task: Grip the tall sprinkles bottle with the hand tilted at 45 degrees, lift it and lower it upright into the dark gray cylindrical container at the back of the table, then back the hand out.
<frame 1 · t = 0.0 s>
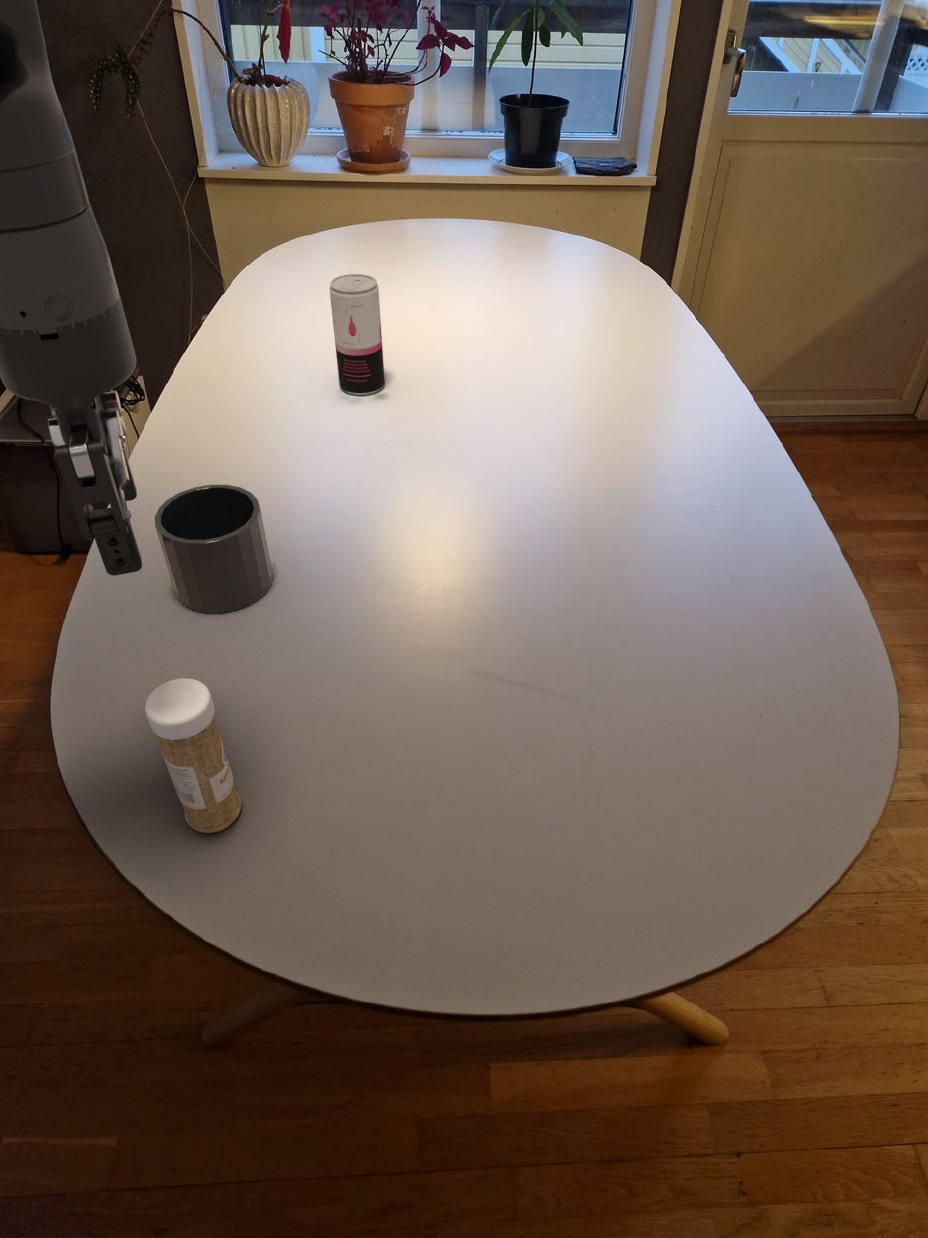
hand: (124, 533, 59), 24 cm above the table, tool pointing down, fingers open, 8 cm apart
dark gray cylindrical container: (224, 582, 92), on the table
sprinkles bottle: (214, 812, 70), on the table
beverage can: (362, 387, 125), on the table
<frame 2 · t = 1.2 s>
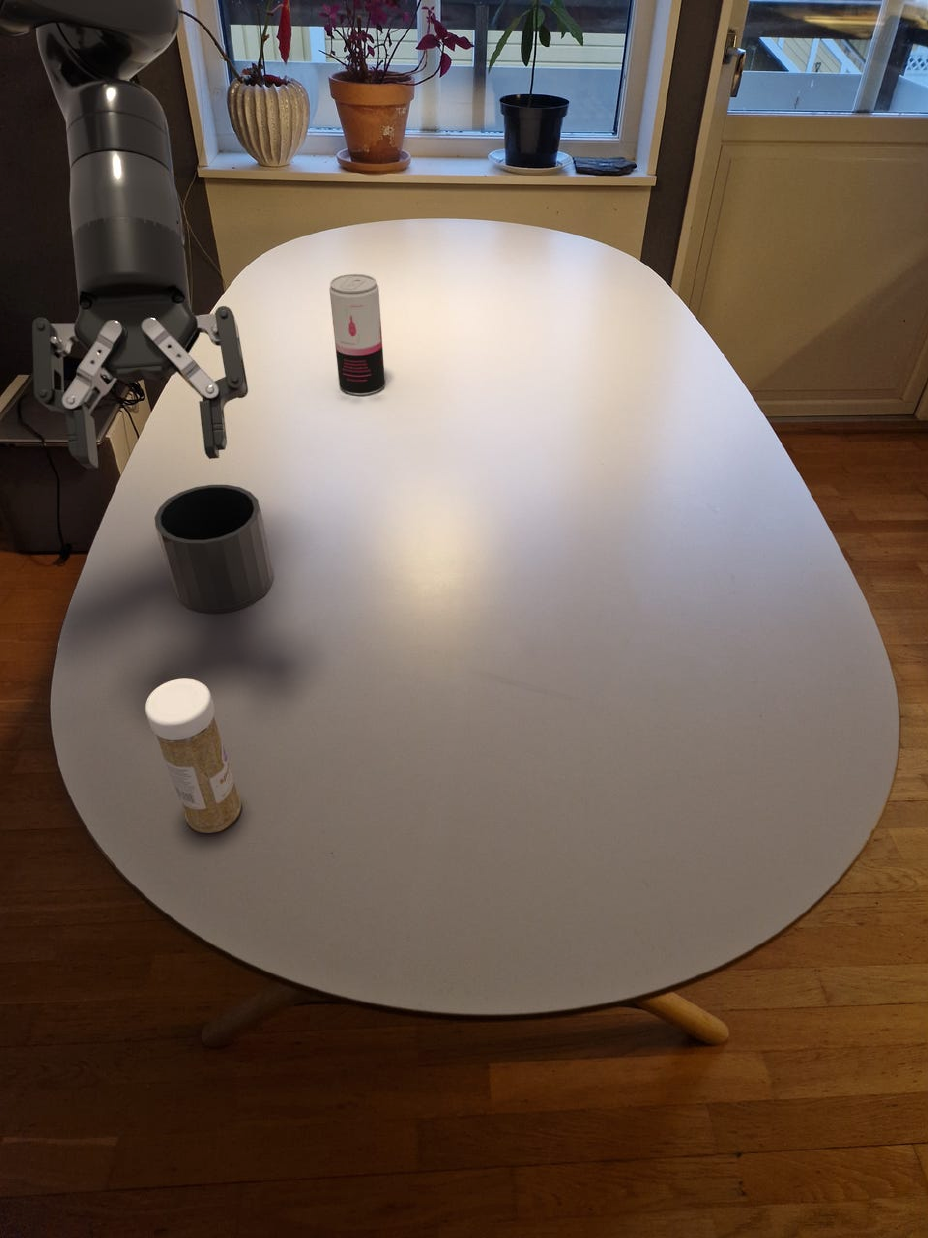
hand: (151, 461, 61), 26 cm above the table, tool tilted 45°, fingers open, 8 cm apart
nothing on the table moved.
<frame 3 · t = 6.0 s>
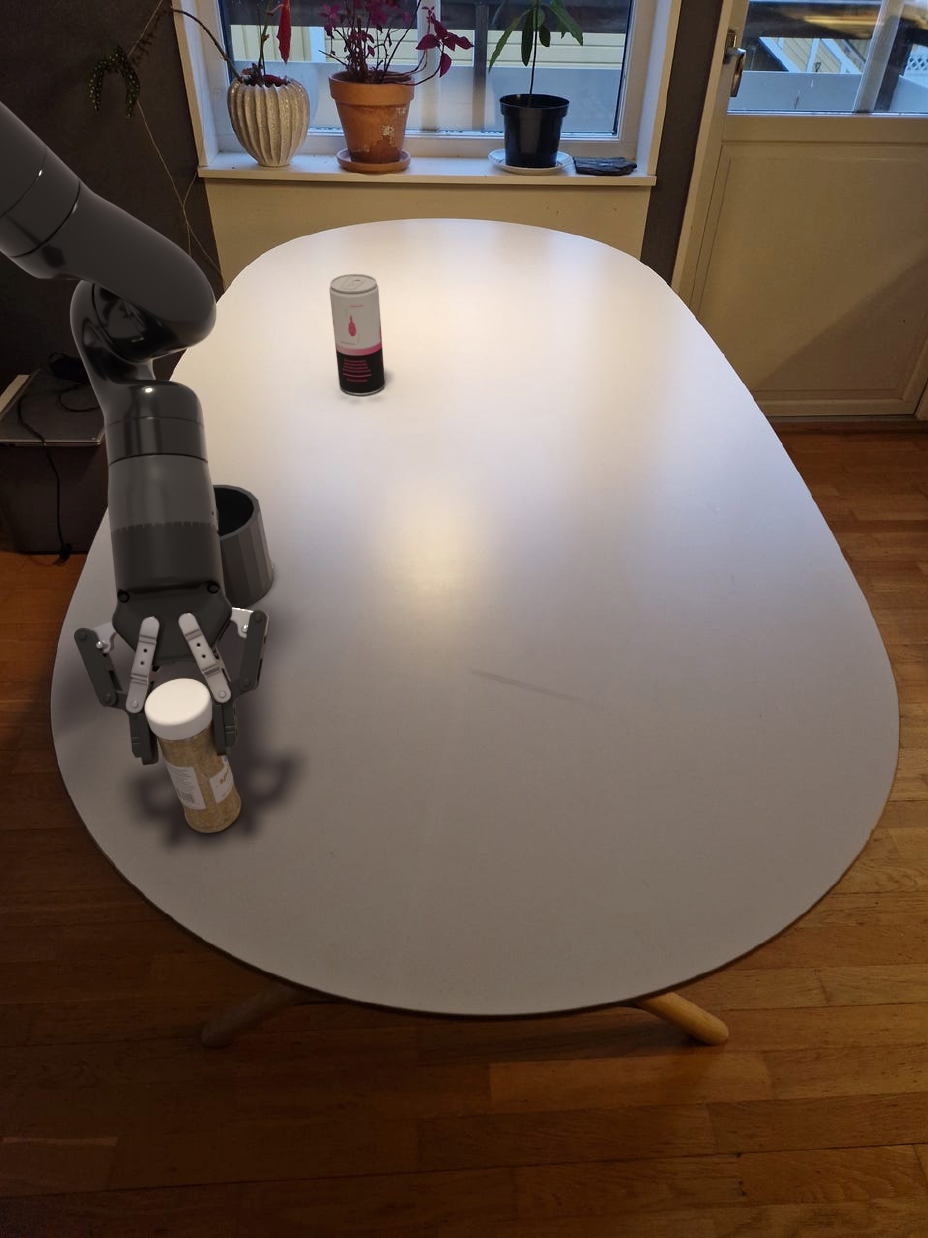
hand: (188, 758, 62), 9 cm above the table, tool tilted 45°, fingers closed on sprinkles bottle, 4 cm apart
sprinkles bottle: (214, 812, 70), on the table, touching gripper
everything else where it was.
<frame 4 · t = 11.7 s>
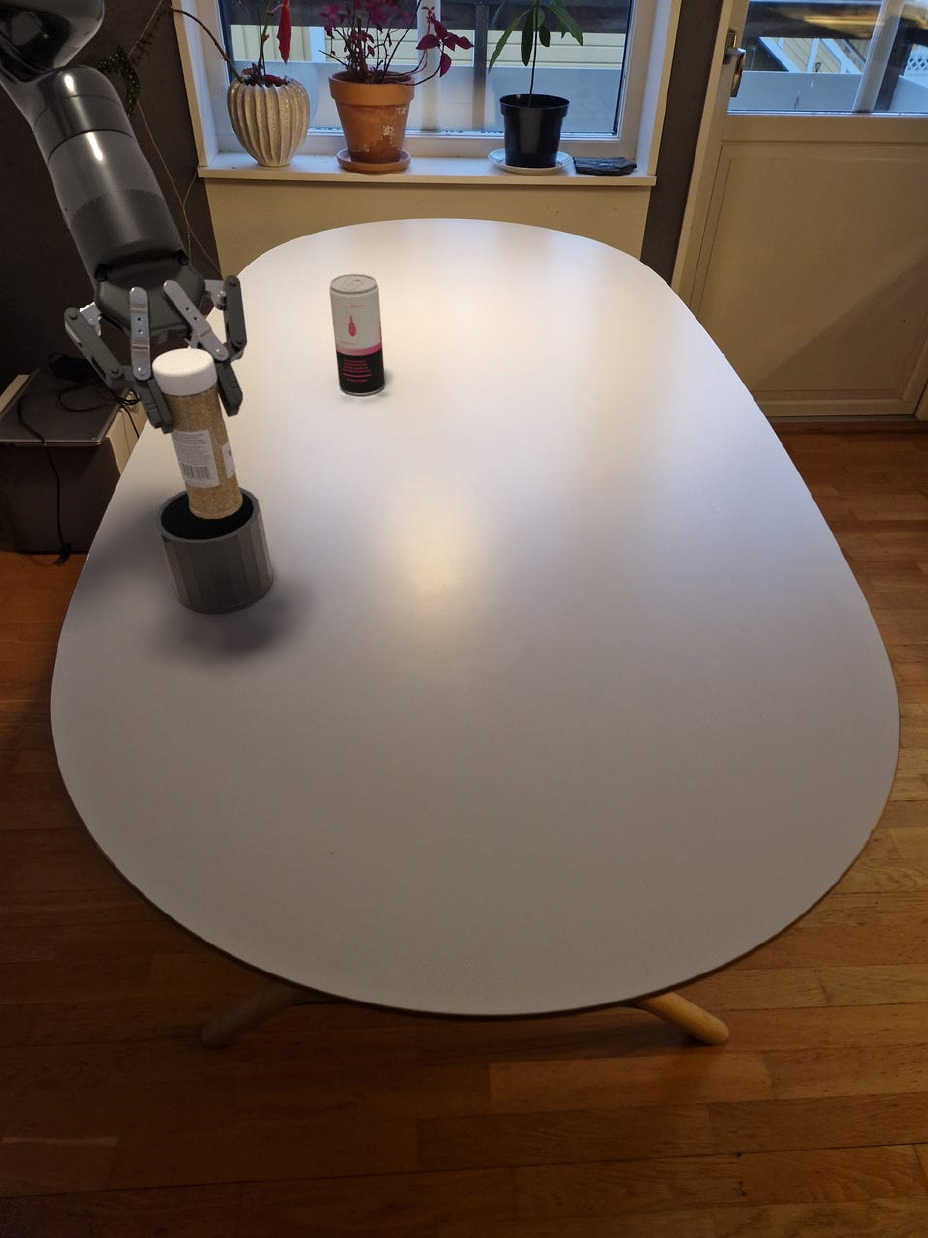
hand: (202, 420, 67), 25 cm above the table, tool tilted 45°, fingers closed on sprinkles bottle, 4 cm apart
sprinkles bottle: (216, 507, 74), point 16 cm above the table, touching gripper
everything else where it was.
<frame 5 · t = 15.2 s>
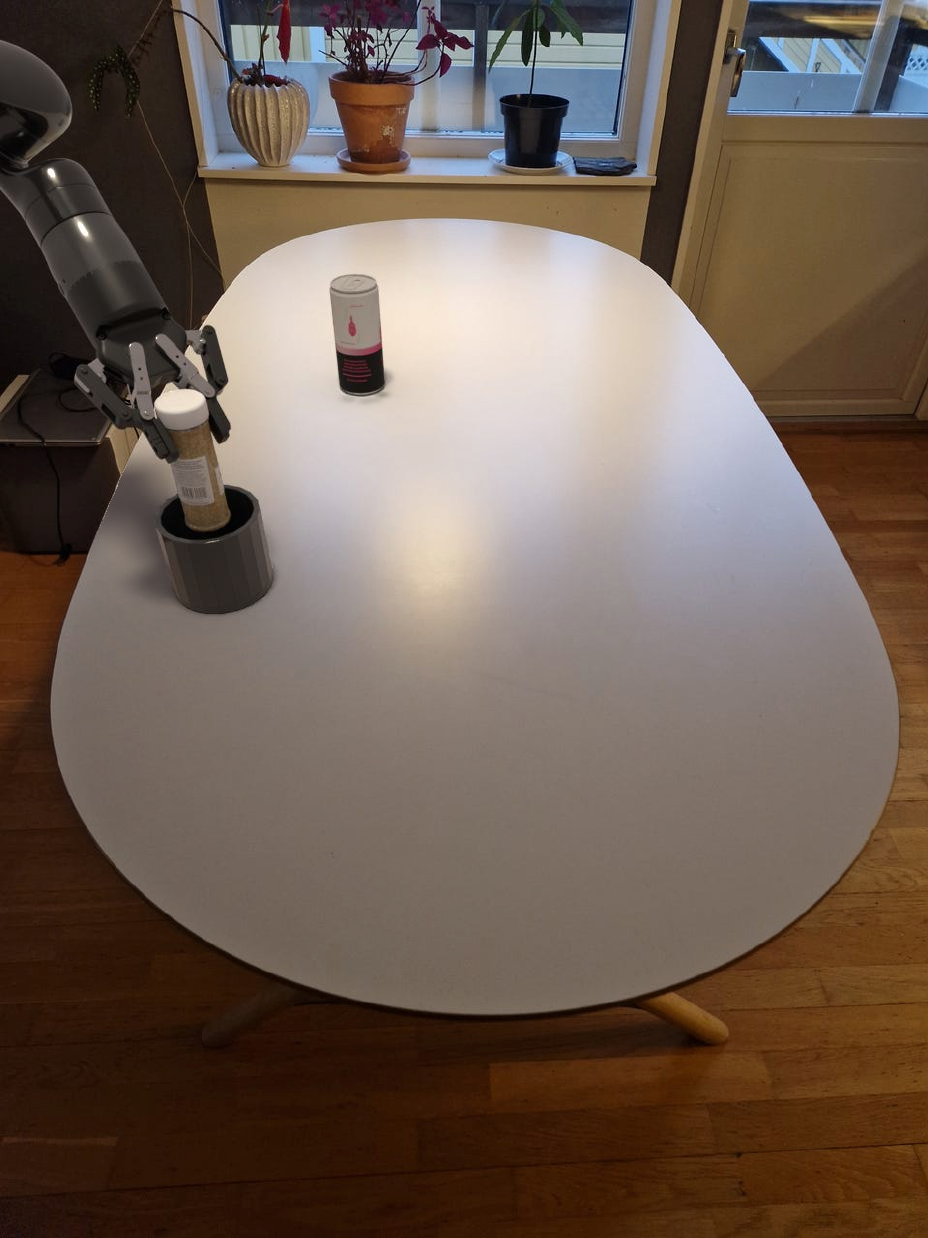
hand: (199, 448, 79), 17 cm above the table, tool tilted 45°, fingers closed on sprinkles bottle, 4 cm apart
sprinkles bottle: (208, 522, 87), point 8 cm above the table, touching gripper
everything else where it was.
when the fingers open (10 cm above the table, at t = 17.6 s): sprinkles bottle stays where it is, resting on dark gray cylindrical container.
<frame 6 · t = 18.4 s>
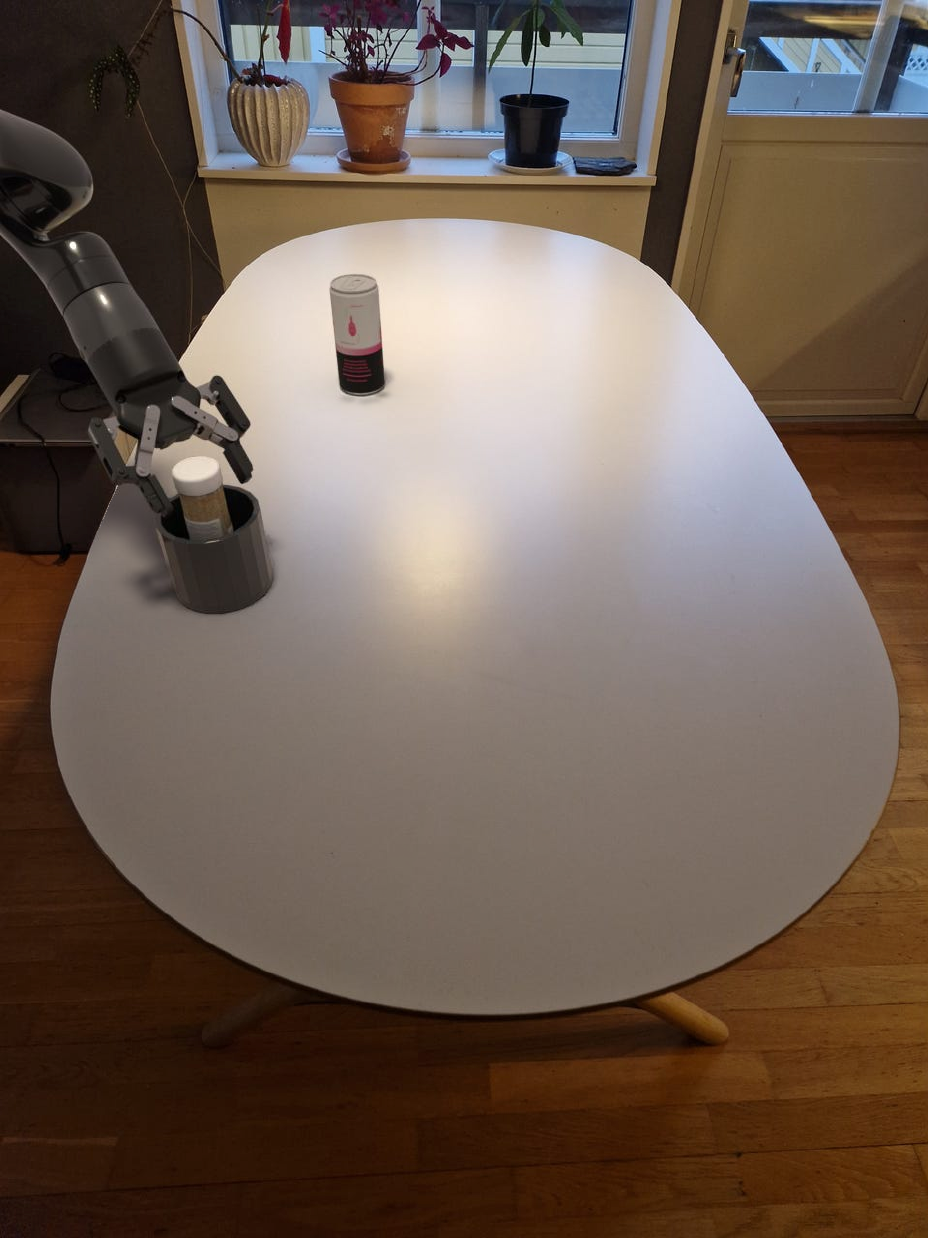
hand: (209, 496, 83), 12 cm above the table, tool tilted 45°, fingers open, 8 cm apart
sprinkles bottle: (222, 577, 91), point 1 cm above the table, touching dark gray cylindrical container
everything else where it was.
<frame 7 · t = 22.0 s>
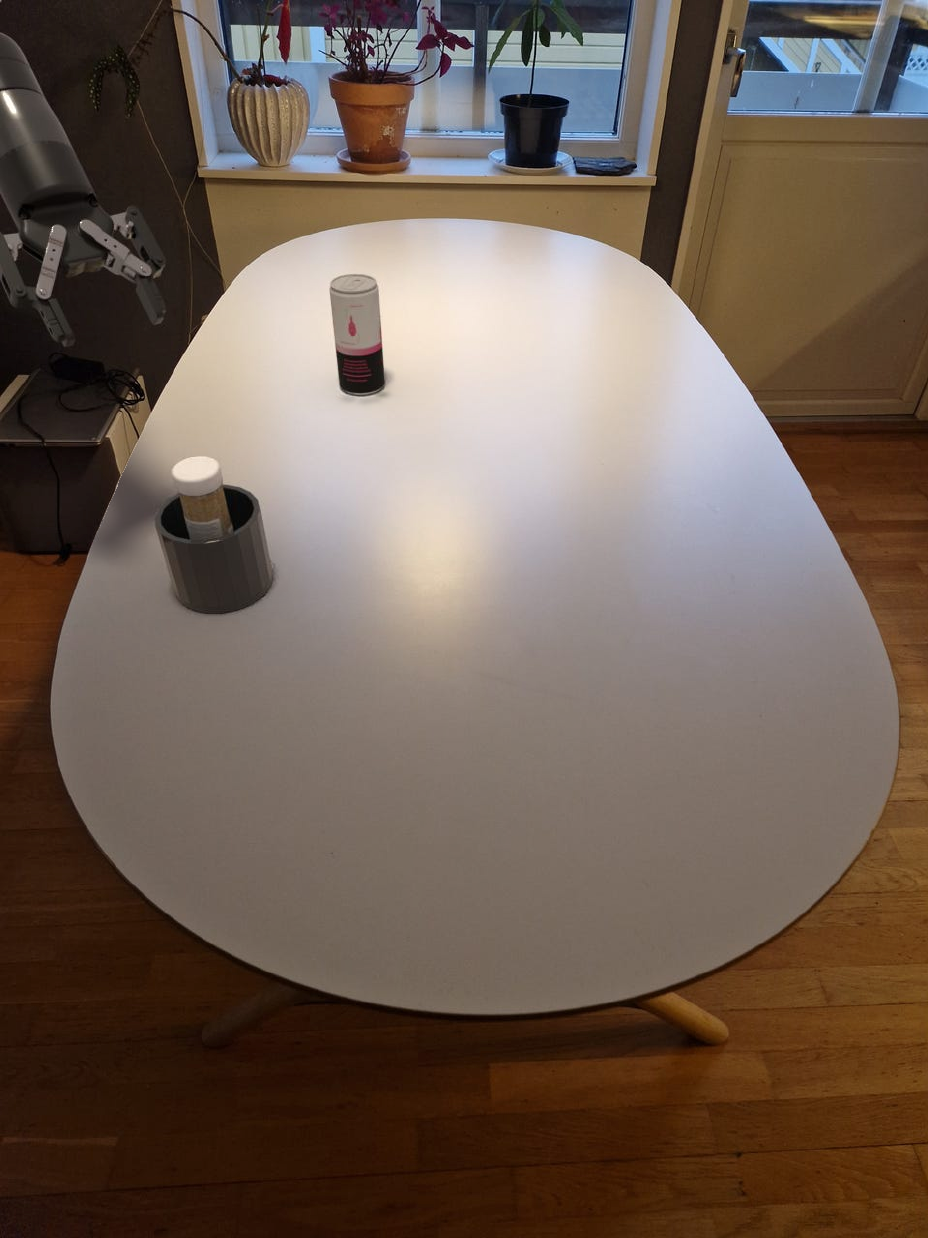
hand: (116, 331, 80), 25 cm above the table, tool tilted 40°, fingers open, 8 cm apart
nothing on the table moved.
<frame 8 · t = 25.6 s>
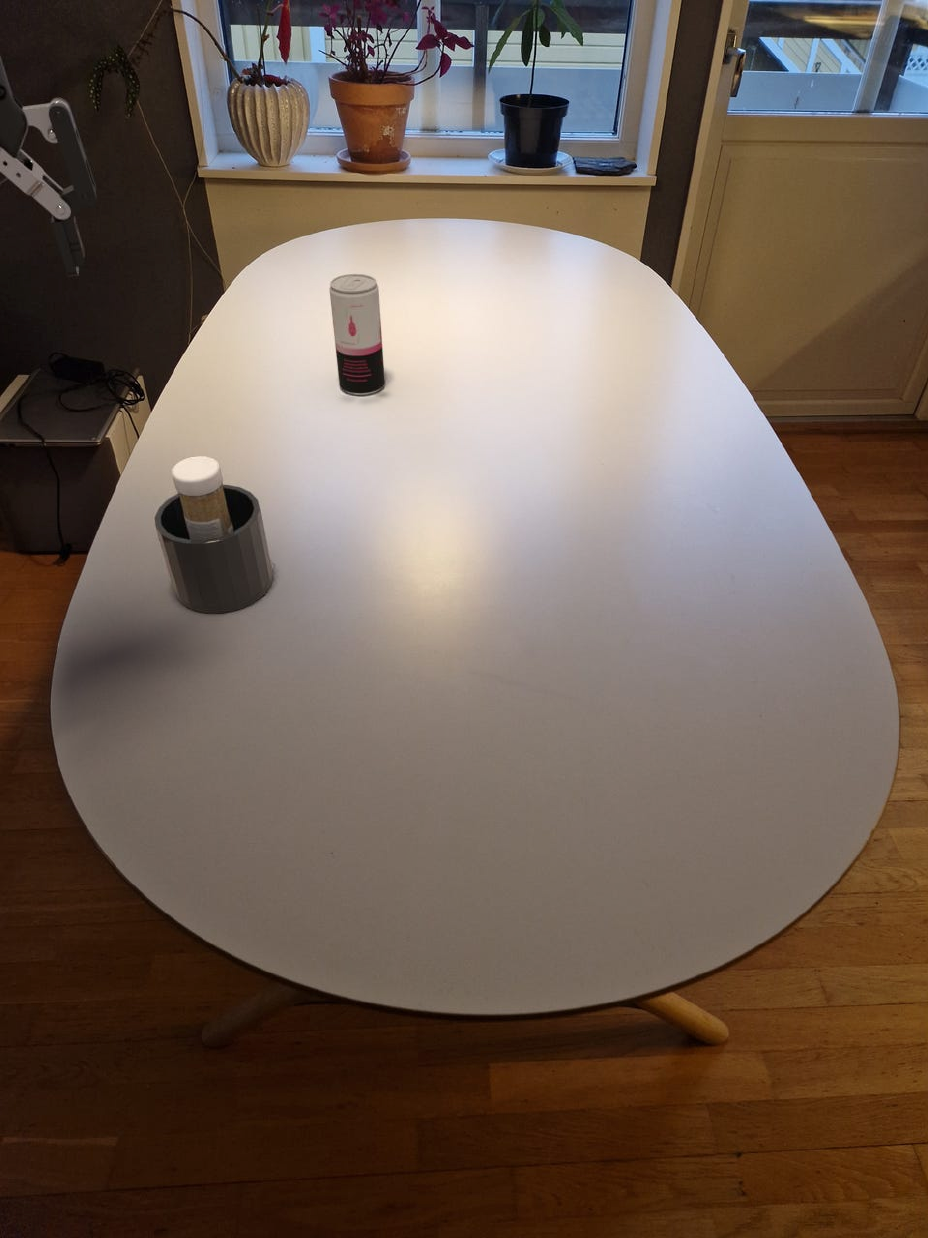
hand: (8, 279, 60), 36 cm above the table, tool pointing down, fingers open, 8 cm apart
nothing on the table moved.
at the end: sprinkles bottle inside the target area in the dark gray cylindrical container (0.1 cm from its centre), point 0.6 cm above the dark gray cylindrical container's base; sprinkles bottle tilted 0°; the gripper is holding nothing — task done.
